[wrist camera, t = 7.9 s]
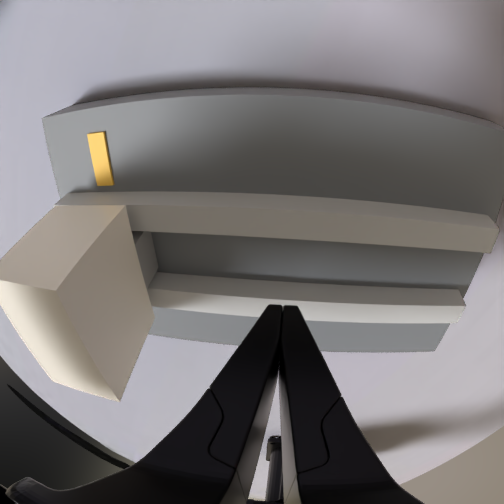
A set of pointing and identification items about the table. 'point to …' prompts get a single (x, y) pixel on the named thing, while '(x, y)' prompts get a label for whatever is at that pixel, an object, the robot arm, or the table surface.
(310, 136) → the console
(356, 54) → the table surface
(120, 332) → the fader
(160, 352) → the table surface
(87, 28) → the table surface
